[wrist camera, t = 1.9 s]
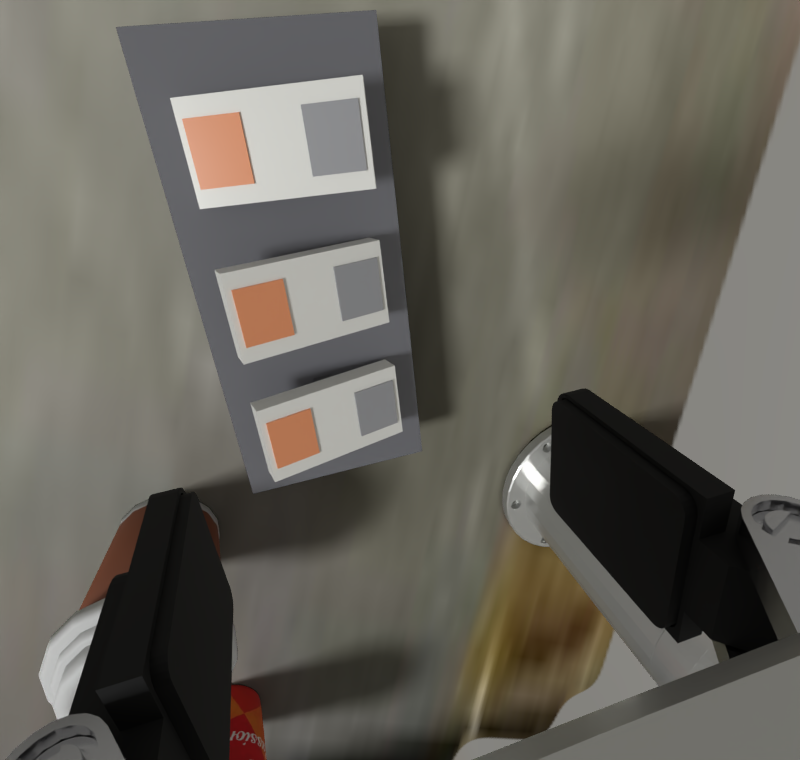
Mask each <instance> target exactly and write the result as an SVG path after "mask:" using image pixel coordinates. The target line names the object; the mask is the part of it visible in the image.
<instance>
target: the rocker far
mask: <svg viewBox="0 0 800 760" xmlns="http://www.w3.org/2000/svg"><path fill="white" fill-rule="evenodd" d="M250 404H251V407H252V411H253V415H254V418H255V422H256V426H257V429H258V433H259V437H260V440H261V444H262V448H263V452H264V455H265V459H266V463H267V466H268V470H269V473H270V474H271V476H272V478H273V479H274V481H275V482H277V481H280V480H282V479H285V478H287V477H290V476H292V475H295V474H297V473H300V472H302V471H305V470H307V469H310V468H312V467H315V466H317V465H320V464H322V463H325V462H327V461H330V460H332V459H335V458H337V457H340V456H342V455H345V454H348V453H350V452H353V451H355V450H358V449H360V448H363V447H365V446H368V445H370V444H373V443H375V442H378V441H380V440H383V439H385V438H388V437H390V436H393V435H395V434H398V433H400V432H403V430H402V421H401V413H400V405H399V397H398V389H397V380H396V372H395V365H393V364H391V363H390V362H388V361H387V360H385V359H384V360H381V361H378V362H375V363H372V364H368V365H365V366H362V367H359V368H356V369H353V370H350V371H347V372H344V373H341V374H338V375H335V376H332V377H328V378H325V379H322V380H319V381H316V382H313V383H310V384H307V385H304V386H301V387H298V388H295V389H292V390H288V391H285V392H282V393H279V394H276V395H273V396H270V397H267V398H264V399H261V400H258V401H255V402H251V403H250Z"/></svg>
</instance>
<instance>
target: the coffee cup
mask: <svg viewBox="0 0 800 760" xmlns="http://www.w3.org/2000/svg"><path fill="white" fill-rule="evenodd" d="M148 500H149V499H148ZM148 500H146V501H144V502H142V503H140V504H137V505H135V506H134V507H133V508H132V509H131V510H130V511H129V512H128V513H127V514H126V515H125V516H124V517H123V518H122V521H121V524H120V526H119V528H118V530H117V533H116V535H115V537H114V539H113V541H112V543H111V545H110V547H109V549H108V551H107V553H106V555H105V557H104V560H103V562H102V564H101V566H100V568H99V570H98V572H97V574H96V576H95V578H94V580H93V582H92V585H91V587H90V589H89V591H88V593H87V595H86V597H85V599H84V601H83V603H82V605H81V607H80V609H79V611H76V612H75V613H74V614H73V615H72V616H71V617H70V618H69V619H68V620H67V621H66V622H65V623H64V624H63V625H62V626H61V627H60V628H59V629H58V630H57V631H56V632H55V633H54V634H53V635H52V636H51V639H50V641H49V644H48V646H47V649H46V652H45V656H44V659H43V662H42V665H41V669H40V672H39V678H40V680H41V683H42V686H43V689H44V692H45V695H46V697H47V700H48V702H49V703H51V704H52V706H53V709H54V712H55V715H56V717H57V720H58V719H60V718H63V717H66V716H68V715H69V712H70V709H71V705H72V702H73V699H74V696H75V693H76V689H77V686H78V683H79V680H80V677H81V674H82V670H83V667H84V664H85V661H86V658H87V654H88V651H89V648H90V645H91V642H92V639H93V635H94V632H95V629H96V626H97V623H98V619H99V616H100V613H101V610H102V607H103V604H104V600H105V597H106V594H107V591H108V588H109V585H110V583H111V581H112V579H113V578H114V577H115V576H116V575H118V574H122V573H126V572H128V571H129V568H130V564H131V560H132V557H133V553H134V550H135V546H136V543H137V539H138V535H139V532H140V528H141V525H142V521H143V517H144V514H145V510H146V507H147V503H148ZM199 503H200V506H201V508H202V511H203V514H204V517H205V520H206V522H207V525H208V528H209V531H210V533H211V536H212V539H213V542H214V545H215V547H216V550H217V553H218V556H219V558H220V544H219V536H220V533H219V525H218V519H217V518H216V517H215V515H214V514H213V512H212V511H211V510H210V508H209V507H207V506H206V505H204V504H202V503H201V502H199ZM237 660H238V648H237V639H236V631H235V626H234V624H233V639H232V671H233V668H234V666H235V664H236V662H237Z"/></svg>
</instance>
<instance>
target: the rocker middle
mask: <svg viewBox="0 0 800 760" xmlns="http://www.w3.org/2000/svg"><path fill="white" fill-rule="evenodd" d="M215 274H216V278H217V282H218V285H219V289H220V293H221V296H222V300H223V304H224V307H225V311H226V315H227V318H228V322H229V326H230V330H231V333H232V337H233V341H234V344H235V348H236V352H237V355H238V358H239V359H240V360H241V362H242V363H243V364H244V365H245V364H248V363H251V362H255V361H258V360H262V359H265V358H269V357H272V356H275V355H279V354H282V353H286V352H289V351H293V350H296V349H299V348H303V347H306V346H310V345H313V344H317V343H320V342H323V341H327V340H330V339H334V338H337V337H341V336H344V335H347V334H351V333H354V332H358V331H361V330H365V329H368V328H371V327H375V326H378V325H382V324H385V323H389V315H388V307H387V298H386V290H385V282H384V274H383V266H382V257H381V249H380V241H379V240H377V239H373V238H365V239H360V240H355V241H350V242H345V243H341V244H336V245H331V246H326V247H321V248H317V249H312V250H307V251H302V252H297V253H293V254H288V255H283V256H278V257H273V258H269V259H264V260H259V261H254V262H250V263H245V264H240V265H235V266H230V267H226V268H221V269H216V270H215Z"/></svg>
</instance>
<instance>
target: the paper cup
mask: <svg viewBox="0 0 800 760" xmlns="http://www.w3.org/2000/svg"><path fill="white" fill-rule="evenodd" d="M229 760H266V749H265V739H264V729H263V719H262V710H261V703H260V698H259V695H258V694H257V692H256V691H255V690H253V689H252V688H250V687H247V686H244V685H231V717H230V756H229Z"/></svg>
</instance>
